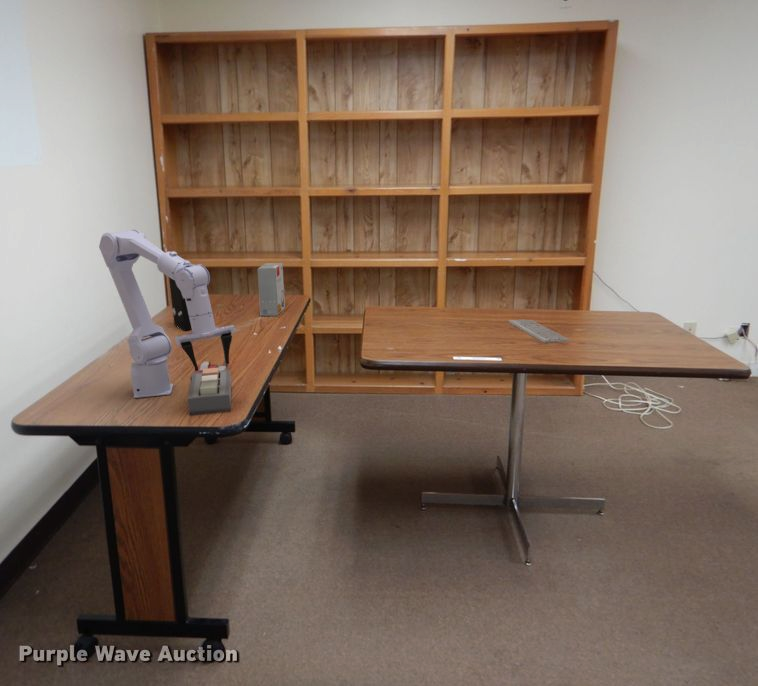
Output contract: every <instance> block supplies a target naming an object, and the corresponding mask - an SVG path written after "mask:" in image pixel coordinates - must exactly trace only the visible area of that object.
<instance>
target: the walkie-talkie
mask: <svg viewBox="0 0 758 686" xmlns="http://www.w3.org/2000/svg"><path fill="white" fill-rule="evenodd" d="M227 365H228V364H226V362H225V360H224V362H223V363H222V365H221V366H220V365H219V364H217V363H211V361H202V362H201V364H199V365H197V366H198V371H195V369H194V370H193V372H192V374H191V376H190V377H189V381H191V380H192V375H193V373H201V372H203V369H209V368H218V371H223V370H228V369H227Z"/></svg>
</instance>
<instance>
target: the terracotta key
mask: <svg viewBox="0 0 758 686" xmlns="http://www.w3.org/2000/svg"><path fill="white" fill-rule="evenodd" d="M202 375H203V376H208V375H218V378H219V371H218V368H209V369H203V373H202ZM218 384H219V383H218Z"/></svg>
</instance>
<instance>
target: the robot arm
mask: <svg viewBox="0 0 758 686" xmlns="http://www.w3.org/2000/svg"><path fill="white" fill-rule="evenodd" d="M98 248H99V250H100V252H101V255H102V257H103V261H104V263H105V265H106V267H107V268H108V270H109V272H110V275H111V278H112V281H113V283H114V285H115V288H116V291H117V293H118V296H119V299H120V301H121V303H122V305H123V308H124V310H125V312H126V315H127V317H128V320H129V323H130V325H131V328H132V332H131V333H130V335H129V336H128V338H127V343H128V346H129V353H130V357H131V358H132V360H133V361H134V362H131V363H130V364H131V365H130V379H131V385H132V390H133V398H135V399H138V398H139V399H140V398H148V397H159V396H168V395H171V394H172V390H173V387H174V384H173V383H171V382H170V375H169V366H168V359H169V358H170V356H169V355H170V354H171V353H172V351H173V350H172V349H173V344H172V341H171V339H170V338H169V336H168V335H167V334H166V332H165V329H164V327H162V326H160V325H157V324H156V323H154V322H153V319H152V317H151V316H152V315H151V314H150V312H149V309H148V307H147V306H148V305H147V304H146V302H145V299H144V296H143V294H142V291H141V289H140V286H139V284H138V282H137V281H138V280H137V279H136V276H135V273H134V272H133V266H134V264H135V263H136V262H137V261H138V260H139V259H140V257H143V258H145V259H146V260H148V261H150V262H152V263H154V264H156V267H157V270H158V271H159V272H161V273H162V274H163V275H165V276H166V277H168V278H169V277H170V278H171V279H173V280H175V282H176V285H177V287H178V288H179V289H180V291H181V293H182V297H183V298H185V301H186V305H187V310H188V314H189V319H190V323H191V328H192V329H191V331H192V332H191V333H187V334H182V335H179V336H174V341H175V345H176V346H180V347H181V349H182V350H183V351H184V352H185V353H186V355H187V356H188V358H189V359H190V361H191V363H192V365H193V368H194V370H195V371H198V366H199V365H198V364H197V361H196V356H195V353H194V349H193V348H194V347H193V344H192V342H198V341H202V340H208V339H212V338H216V337H217V338H218V337H220V341H221V346H222V350H223V357H224V361H225V362H226V364H227V365H229V364H230V347H231V344H232V340H233V336H232V335H233V334H236V329H235V326H234V325H233V324H231V325H226V326H221V327H216V323H215V317H214V314H213V309H212V304H211V300H210V295H209V291H208V287H207V286H209V284H210V281H211V275H210V272H209V270H208V269H207V268H206V267H205V266H204V265H203V264H201V263H198V264H192V263H191V262H190V261H189V260H186V259H184V258H182V257H181V256H179V255H178V253H177V252H176V251H173V250H172V251H165V252H164V251H163V250H162V249H160V248H159V247H157V246H156V245H155V244H153V243H152V242H151V241H150V240H148V239H147V237H146V235H145V233H143V232H141V231H140V230H138V229H131V230H125V231H117V232H105V233H103V234H102V236H101V238H100V241H99V246H98Z"/></svg>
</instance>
